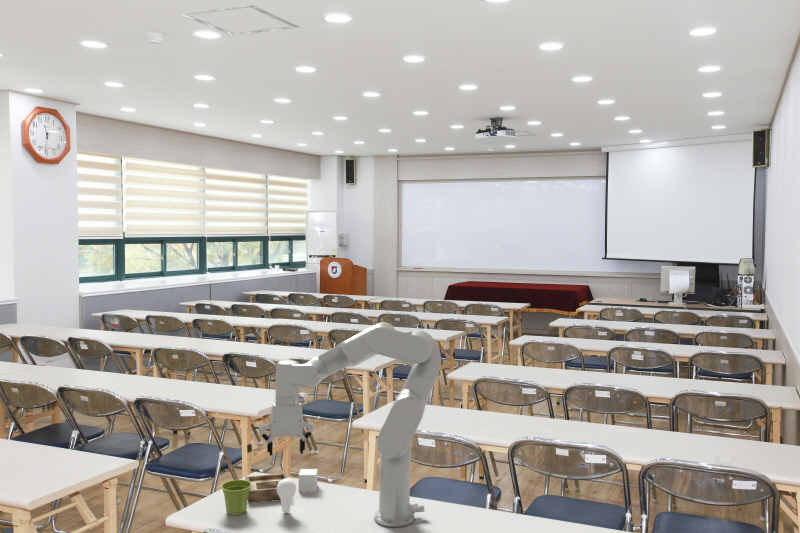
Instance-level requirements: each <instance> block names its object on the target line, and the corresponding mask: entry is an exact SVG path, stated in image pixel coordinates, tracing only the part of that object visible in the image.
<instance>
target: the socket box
mask: <svg viewBox="0 0 800 533" xmlns="http://www.w3.org/2000/svg"><path fill="white" fill-rule="evenodd" d="M283 479H289V478H288V475H287V473H286V472H283V473H282V472H281V473H270V474H261V475H260V474H259V475H249V476H245V479H244V480H247V481H249V482H251V483H252V486H251V487H250V491H249V495H248V501H247V504H254V503H253V502H256V503H263V502H262V501H267V502H273V501H272V500H277V501H281V499H280V497H279V495H278V493H277V485H278V483H279V482H280V481H281V480H283Z"/></svg>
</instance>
